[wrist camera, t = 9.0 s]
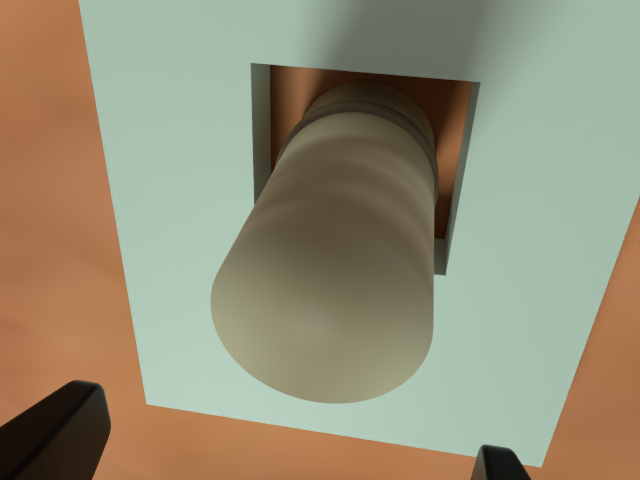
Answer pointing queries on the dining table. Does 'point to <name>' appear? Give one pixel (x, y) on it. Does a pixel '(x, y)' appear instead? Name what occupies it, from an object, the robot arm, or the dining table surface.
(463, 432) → the board
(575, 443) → the dining table surface
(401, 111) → the peg
